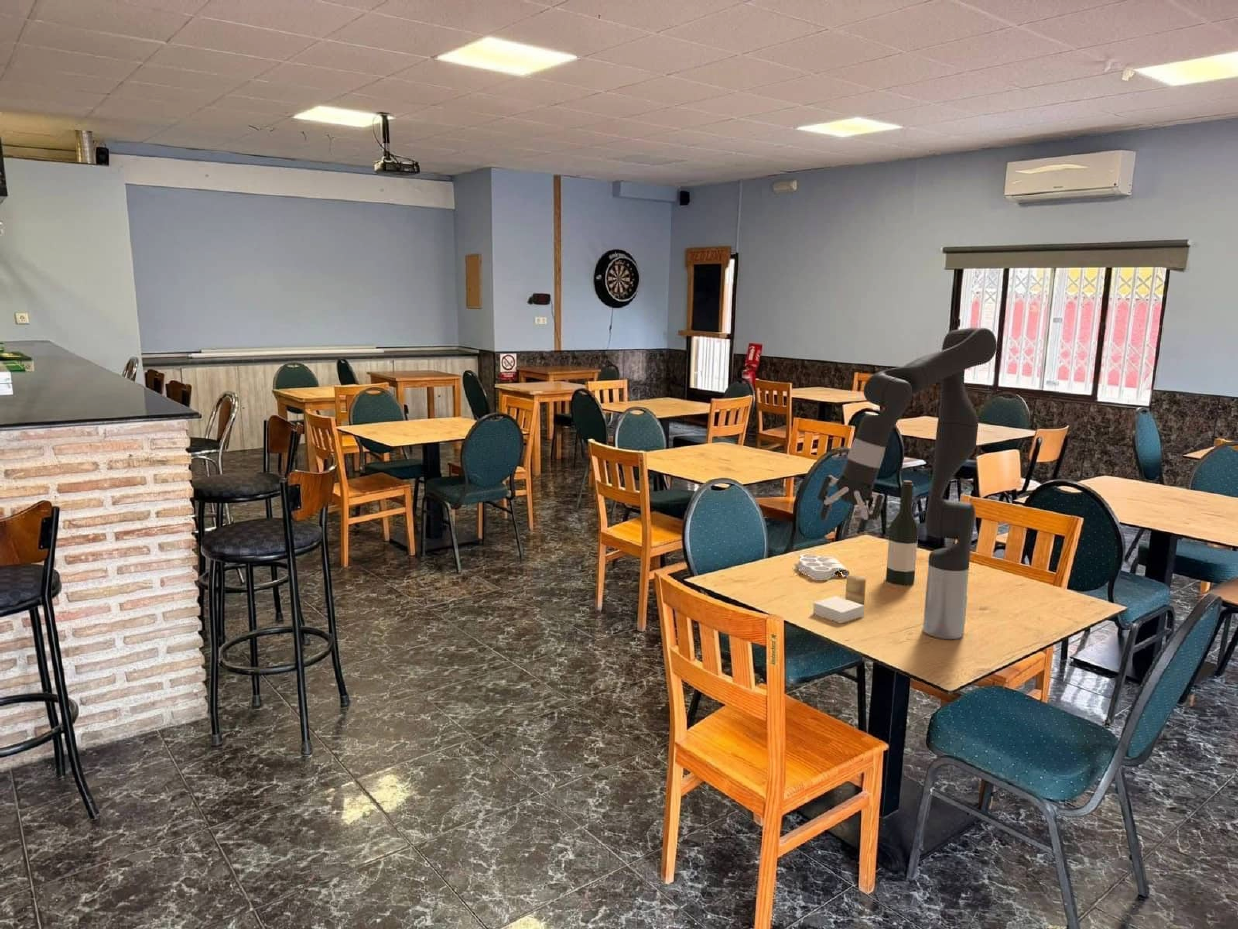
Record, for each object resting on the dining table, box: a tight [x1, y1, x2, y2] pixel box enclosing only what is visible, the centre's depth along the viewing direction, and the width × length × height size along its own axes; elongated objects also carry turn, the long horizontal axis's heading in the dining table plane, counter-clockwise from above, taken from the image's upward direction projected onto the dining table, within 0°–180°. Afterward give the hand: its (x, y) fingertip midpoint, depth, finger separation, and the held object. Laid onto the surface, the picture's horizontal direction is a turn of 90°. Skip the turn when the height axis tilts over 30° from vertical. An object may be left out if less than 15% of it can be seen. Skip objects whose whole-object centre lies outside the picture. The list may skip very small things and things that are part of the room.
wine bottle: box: [885, 479, 920, 587], centre depth 242 cm, size 8×8×30 cm
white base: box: [812, 595, 865, 624], centre depth 216 cm, size 9×9×3 cm
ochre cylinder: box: [844, 575, 867, 606], centre depth 224 cm, size 5×5×7 cm
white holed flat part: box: [793, 553, 850, 581], centre depth 252 cm, size 3×18×15 cm
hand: (841, 526), depth 193 cm, fingers open, 8 cm apart
